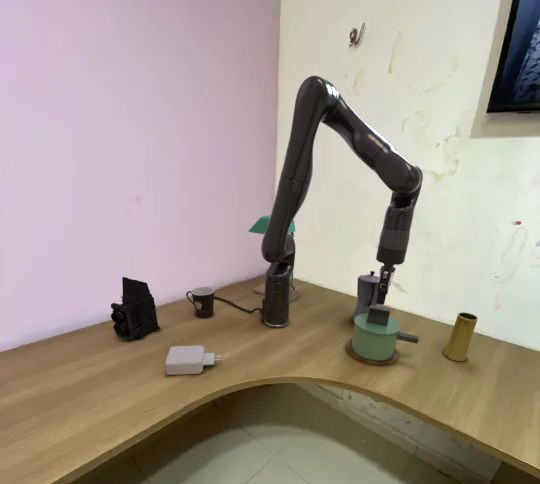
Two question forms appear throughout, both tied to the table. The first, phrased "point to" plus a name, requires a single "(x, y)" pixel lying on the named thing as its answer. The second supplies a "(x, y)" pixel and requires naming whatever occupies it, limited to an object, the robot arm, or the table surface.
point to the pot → (377, 334)
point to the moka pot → (366, 293)
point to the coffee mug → (203, 301)
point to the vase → (461, 336)
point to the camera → (134, 311)
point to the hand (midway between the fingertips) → (381, 298)
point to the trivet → (368, 361)
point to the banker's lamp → (261, 229)
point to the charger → (188, 360)
